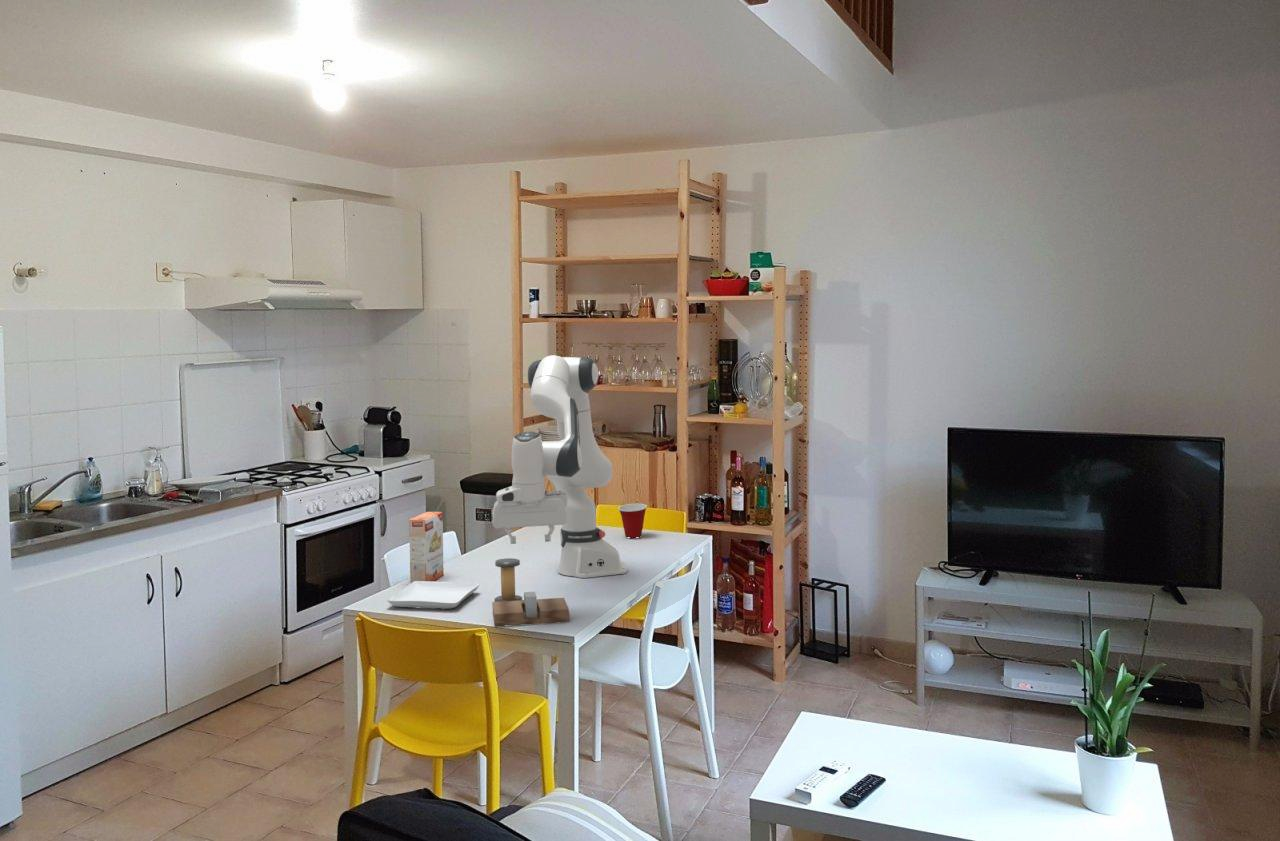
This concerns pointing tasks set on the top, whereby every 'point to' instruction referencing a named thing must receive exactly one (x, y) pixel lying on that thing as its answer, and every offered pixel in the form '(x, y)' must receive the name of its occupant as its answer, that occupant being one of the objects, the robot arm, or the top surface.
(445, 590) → the salad plate
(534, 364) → the robot arm
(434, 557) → the cracker box
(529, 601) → the steel tab
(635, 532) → the plastic cup
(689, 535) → the top surface
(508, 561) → the bobbin
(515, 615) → the notched board
